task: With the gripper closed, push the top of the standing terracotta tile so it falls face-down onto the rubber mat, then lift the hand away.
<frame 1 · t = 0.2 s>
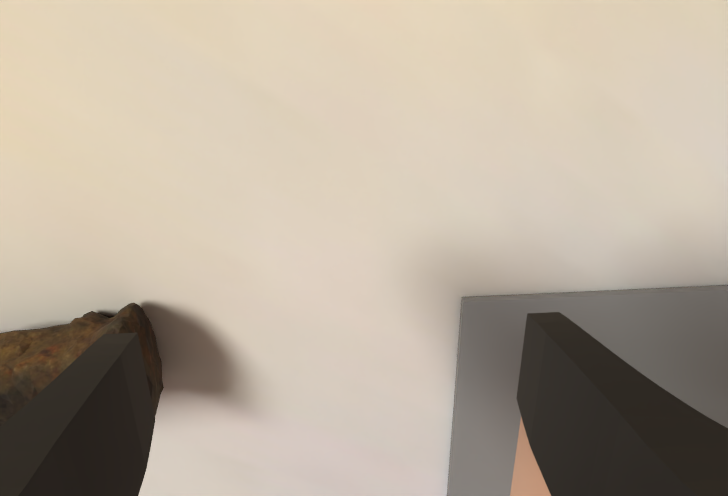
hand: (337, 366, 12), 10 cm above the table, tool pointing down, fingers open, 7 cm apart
tile: (539, 434, 27), resting on mat
mat: (620, 423, 27), on the table
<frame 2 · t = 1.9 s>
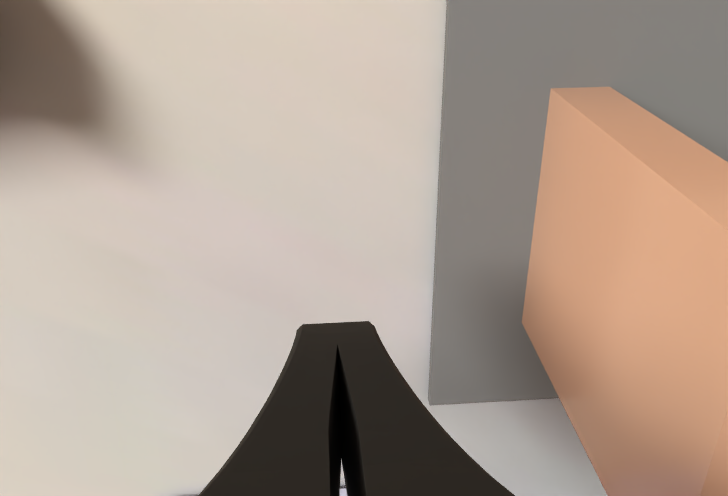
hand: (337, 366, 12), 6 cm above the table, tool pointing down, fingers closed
tile: (565, 214, 18), resting on mat
mat: (683, 205, 19), on the table
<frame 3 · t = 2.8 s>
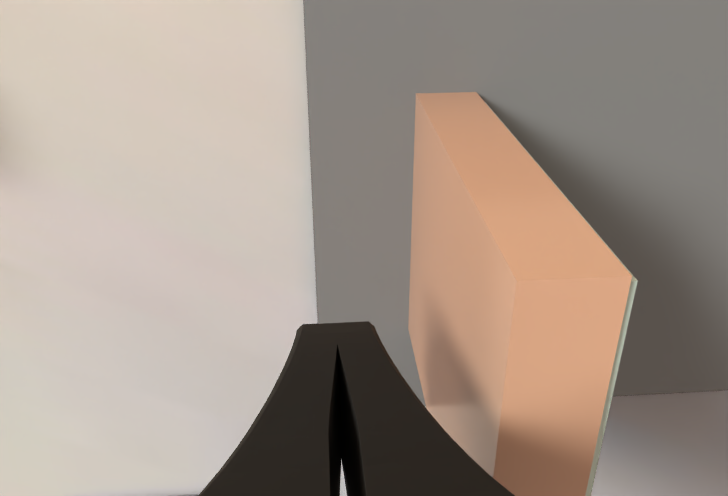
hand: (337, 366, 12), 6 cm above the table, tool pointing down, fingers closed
tile: (442, 220, 18), resting on mat
mat: (565, 211, 19), on the table
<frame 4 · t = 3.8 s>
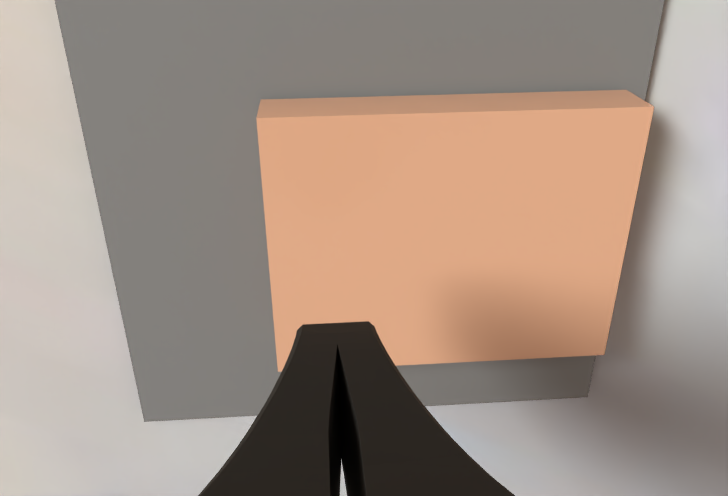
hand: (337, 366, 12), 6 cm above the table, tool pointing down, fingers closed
tile: (270, 241, 17), point 1 cm above the table, tilted 90°, touching mat
mat: (369, 218, 18), on the table
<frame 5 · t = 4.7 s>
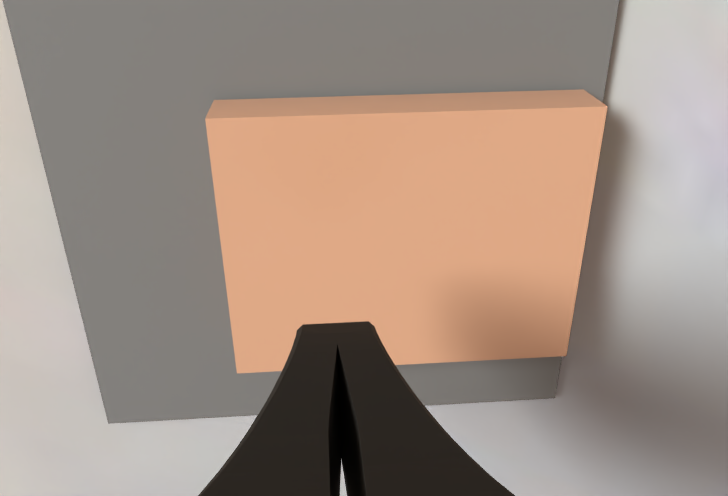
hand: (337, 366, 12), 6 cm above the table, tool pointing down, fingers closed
tile: (226, 242, 17), point 1 cm above the table, tilted 90°, touching mat
mat: (328, 219, 18), on the table
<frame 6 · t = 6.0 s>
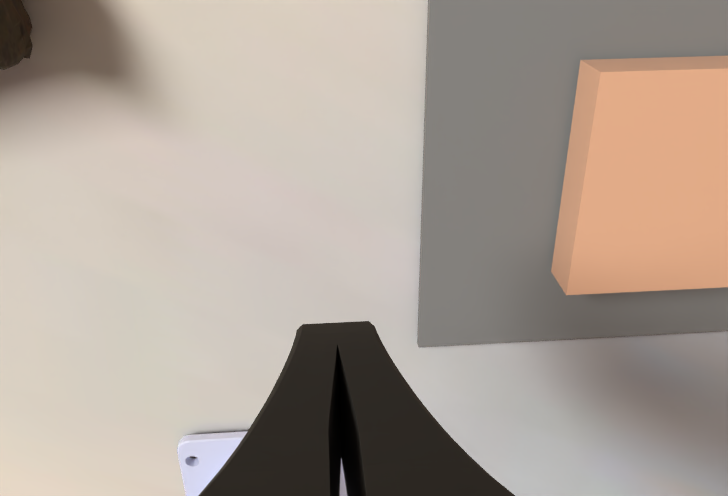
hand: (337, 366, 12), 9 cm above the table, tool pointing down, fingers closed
tile: (571, 182, 20), point 1 cm above the table, tilted 90°, touching mat
mat: (639, 165, 21), on the table
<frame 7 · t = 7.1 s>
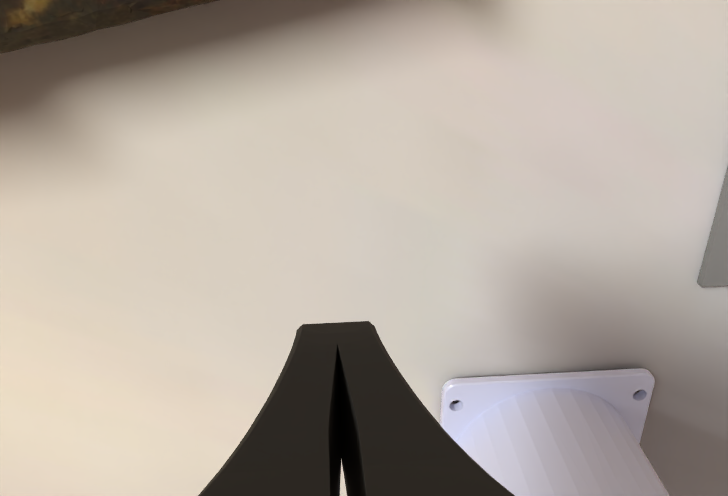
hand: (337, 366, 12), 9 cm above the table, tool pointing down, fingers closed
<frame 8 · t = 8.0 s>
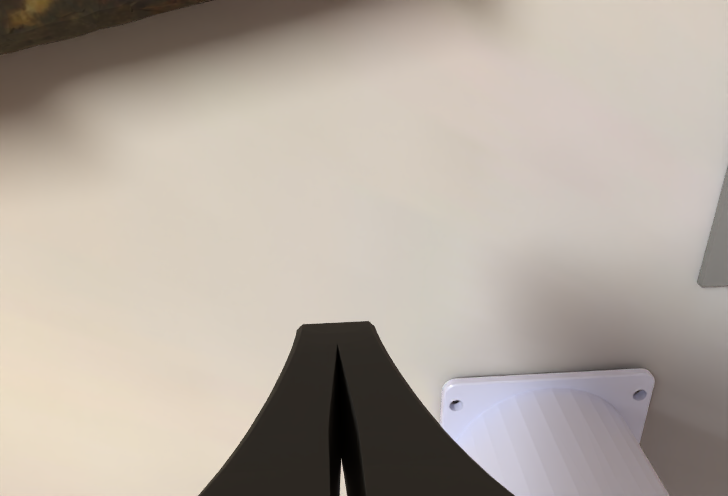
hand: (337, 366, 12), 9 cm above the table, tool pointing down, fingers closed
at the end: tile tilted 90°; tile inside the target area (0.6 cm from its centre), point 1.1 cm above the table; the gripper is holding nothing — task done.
